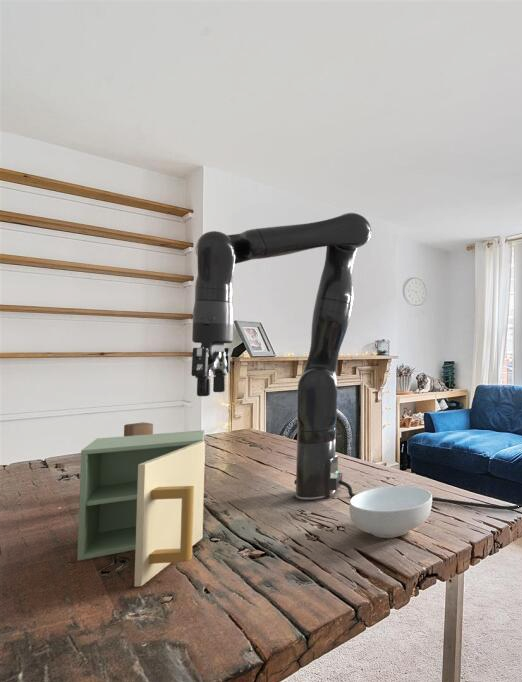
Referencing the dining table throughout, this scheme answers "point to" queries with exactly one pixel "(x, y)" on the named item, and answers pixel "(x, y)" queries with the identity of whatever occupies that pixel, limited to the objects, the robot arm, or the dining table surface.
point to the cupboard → (117, 488)
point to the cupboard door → (169, 510)
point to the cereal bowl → (390, 510)
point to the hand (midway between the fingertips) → (211, 394)
